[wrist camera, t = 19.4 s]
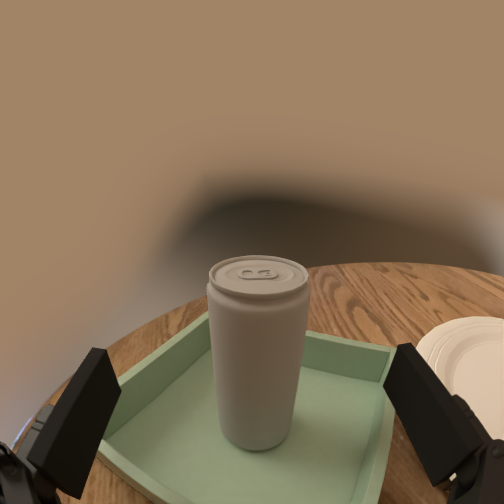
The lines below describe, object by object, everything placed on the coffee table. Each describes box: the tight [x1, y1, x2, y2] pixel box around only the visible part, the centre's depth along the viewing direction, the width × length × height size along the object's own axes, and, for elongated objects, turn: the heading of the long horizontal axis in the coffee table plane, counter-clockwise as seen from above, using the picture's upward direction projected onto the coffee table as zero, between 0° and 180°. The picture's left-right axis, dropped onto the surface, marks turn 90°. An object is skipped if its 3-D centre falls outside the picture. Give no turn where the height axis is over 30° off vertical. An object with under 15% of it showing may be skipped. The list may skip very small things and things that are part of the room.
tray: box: [96, 311, 397, 504], centre depth 16 cm, size 18×18×4 cm
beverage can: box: [207, 256, 311, 451], centre depth 14 cm, size 5×5×12 cm
